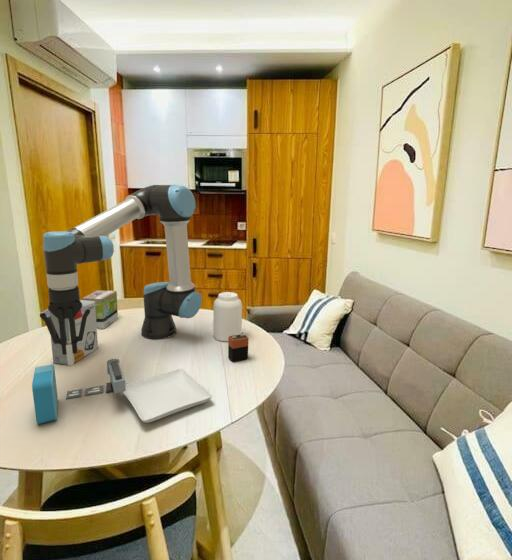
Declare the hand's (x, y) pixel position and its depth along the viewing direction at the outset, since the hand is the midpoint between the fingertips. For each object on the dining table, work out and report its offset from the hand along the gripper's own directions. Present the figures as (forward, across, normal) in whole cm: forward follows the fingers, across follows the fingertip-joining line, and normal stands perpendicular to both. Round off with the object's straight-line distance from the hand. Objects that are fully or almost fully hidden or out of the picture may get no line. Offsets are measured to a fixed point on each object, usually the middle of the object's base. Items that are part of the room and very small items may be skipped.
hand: (71, 363), depth 99 cm
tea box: (+11, -6, -63) cm, 64 cm away
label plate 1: (+10, 0, 0) cm, 10 cm away
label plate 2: (+10, -6, 0) cm, 12 cm away
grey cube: (+10, -12, 0) cm, 16 cm away
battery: (+11, -56, -6) cm, 57 cm away
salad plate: (+11, -25, +12) cm, 30 cm away
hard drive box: (+11, +2, -29) cm, 31 cm away
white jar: (+11, -58, -28) cm, 66 cm away
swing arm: (+5, -12, +6) cm, 14 cm away
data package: (+11, +6, +7) cm, 14 cm away
